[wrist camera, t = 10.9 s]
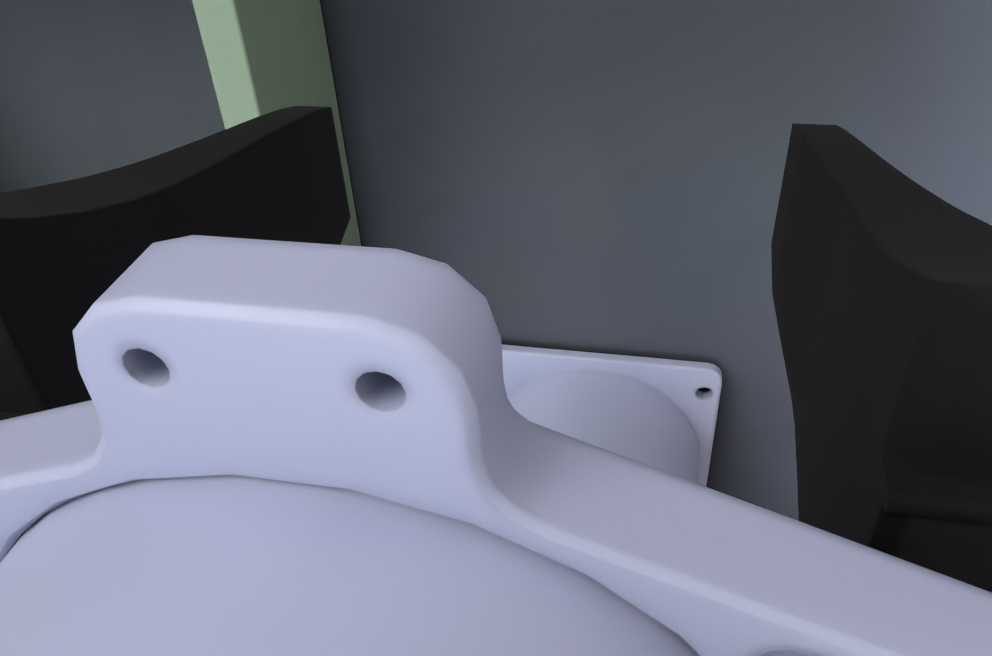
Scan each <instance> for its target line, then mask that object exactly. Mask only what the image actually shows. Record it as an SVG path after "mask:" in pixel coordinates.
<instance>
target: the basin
mask: <svg viewBox="0 0 992 656" xmlns="http://www.w3.org/2000/svg"><path fill="white" fill-rule="evenodd" d="M192 3H193V7H194V11H195V15H196V19H197V22H198V26H199V30H200V34H201V38H202V42H203V46H204V49H205V53H206V57H207V61H208V65H209V69H210V73H211V76H212V80H213V84H214V88H215V92H216V96H217V100H218V103H219V107H220V111H221V115H222V119H223V123H224V127H225V130H226V129H228V128H231V127H233V126H236V125H238V124H241V123H243V122H246V121H248V120H251V119H253V118H256V117H259V116H261V115H264V114H267V113H270V112H273V111H276V110H279V109H283V108H287V107H293V106H317V107H332V113H333V119H334V125H335V130H336V136H337V142H338V147H339V153H340V159H341V165H342V170H343V176H344V182H345V188H346V193H347V199H348V205H349V211H350V216H351V218H350V220H349V223H348V226H347V229H346V231H345V234H344V237H343V239H342V242H341V244H340V245H348V246H361V241H360V235H359V229H358V223H357V217H356V212H355V206H354V200H353V194H352V188H351V182H350V176H349V170H348V164H347V159H346V153H345V147H344V141H343V135H342V129H341V123H340V117H339V111H338V105H337V100H336V94H335V88H334V82H333V76H332V70H331V64H330V58H329V52H328V47H327V41H326V35H325V29H324V23H323V17H322V11H321V5H320V0H192Z"/></svg>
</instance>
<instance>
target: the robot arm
mask: <svg viewBox="0 0 992 656" xmlns="http://www.w3.org/2000/svg"><path fill="white" fill-rule="evenodd" d="M350 218H351V216H350V211H349V205H348V199H347V193H346V188H345V182H344V176H343V170H342V165H341V159H340V153H339V147H338V142H337V136H336V130H335V125H334V119H333V113H332V107H317V106H293V107H287V108H283V109H279V110H276V111H273V112H270V113H267V114H264V115H261V116H259V117H256V118H253V119H251V120H248V121H246V122H243V123H241V124H238V125H236V126H233V127H231V128H228V129H226V130H223V131H221V132H218V133H216V134H213V135H211V136H208V137H206V138H203V139H201V140H198V141H195V142H193V143H190V144H187V145H185V146H182V147H179V148H176V149H174V150H171V151H168V152H166V153H163V154H160V155H157V156H155V157H152V158H149V159H146V160H143V161H140V162H137V163H134V164H131V165H127V166H124V167H121V168H117V169H113V170H110V171H106V172H102V173H99V174H95V175H91V176H87V177H83V178H79V179H74V180H69V181H64V182H59V183H54V184H49V185H43V186H38V187H33V188H28V189H23V190H17V191H11V192H4V193H0V656H992V226H991V225H989V224H987V223H985V222H983V221H981V220H979V219H977V218H975V217H973V216H971V215H969V214H967V213H965V212H963V211H961V210H959V209H957V208H956V207H954V206H952V205H950V204H949V203H947V202H945V201H944V200H942V199H940V198H939V197H937V196H936V195H934V194H932V193H931V192H929V191H928V190H926V189H924V188H923V187H921V186H920V185H918V184H917V183H915V182H914V181H912V180H911V179H910V178H908V177H907V176H905V175H904V174H902V173H901V172H900V171H898V170H897V169H896V168H894V167H893V166H892V165H890V164H889V163H888V162H886V161H885V160H884V159H882V158H881V157H880V156H878V155H877V154H876V153H875V152H873V151H872V150H871V149H869V148H868V147H867V146H866V145H864V144H863V143H862V142H860V141H859V140H858V139H857V138H855V137H854V136H853V135H851V134H850V133H849V132H847V131H846V130H844V129H843V128H841V127H839V126H837V125H817V124H793V125H792V130H791V136H790V142H789V147H788V153H787V159H786V164H785V170H784V176H783V181H782V187H781V193H780V198H779V204H778V210H777V215H776V221H775V227H774V232H773V238H772V290H773V299H774V305H775V311H776V317H777V322H778V328H779V334H780V339H781V344H782V350H783V355H784V361H785V366H786V372H787V377H788V383H789V388H790V393H791V399H792V406H793V414H794V422H795V438H796V458H797V479H798V508H799V521H797V520H795V519H792V518H789V517H786V516H784V515H781V514H778V513H776V512H773V511H770V510H768V509H765V508H762V507H759V506H757V505H754V504H751V503H749V502H746V501H743V500H741V499H738V498H735V497H732V496H730V495H727V494H724V493H722V492H719V491H716V490H714V489H711V488H708V487H706V485H707V478H708V471H709V465H710V458H711V452H712V445H713V439H714V432H715V426H716V419H717V412H718V406H719V399H720V393H721V386H722V372H721V370H720V369H719V367H717V366H716V365H714V364H711V363H706V362H695V361H684V360H672V359H661V358H650V357H638V356H627V355H616V354H604V353H593V352H582V351H570V350H559V349H548V348H536V347H525V346H514V345H502V344H501V336H500V333H499V331H498V328H497V326H496V323H495V320H494V318H493V315H492V312H491V310H490V307H489V304H488V302H487V299H486V297H485V296H484V295H483V294H481V293H480V292H479V291H478V290H477V289H476V288H475V287H473V286H472V285H471V284H470V283H469V282H468V281H466V280H465V279H464V278H463V277H462V276H461V275H460V274H458V273H457V272H456V271H455V270H454V269H453V268H451V267H450V266H449V265H448V264H446V263H443V262H439V261H436V260H433V259H429V258H426V257H423V256H419V255H416V254H412V253H409V252H406V251H402V250H399V249H392V248H378V247H363V246H348V245H340V244H341V242H342V239H343V237H344V234H345V231H346V229H347V226H348V223H349V220H350ZM704 387H705V388H709V389H710V390H709V391H707V392H702V391H699V390H698V389H699V388H704Z"/></svg>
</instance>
